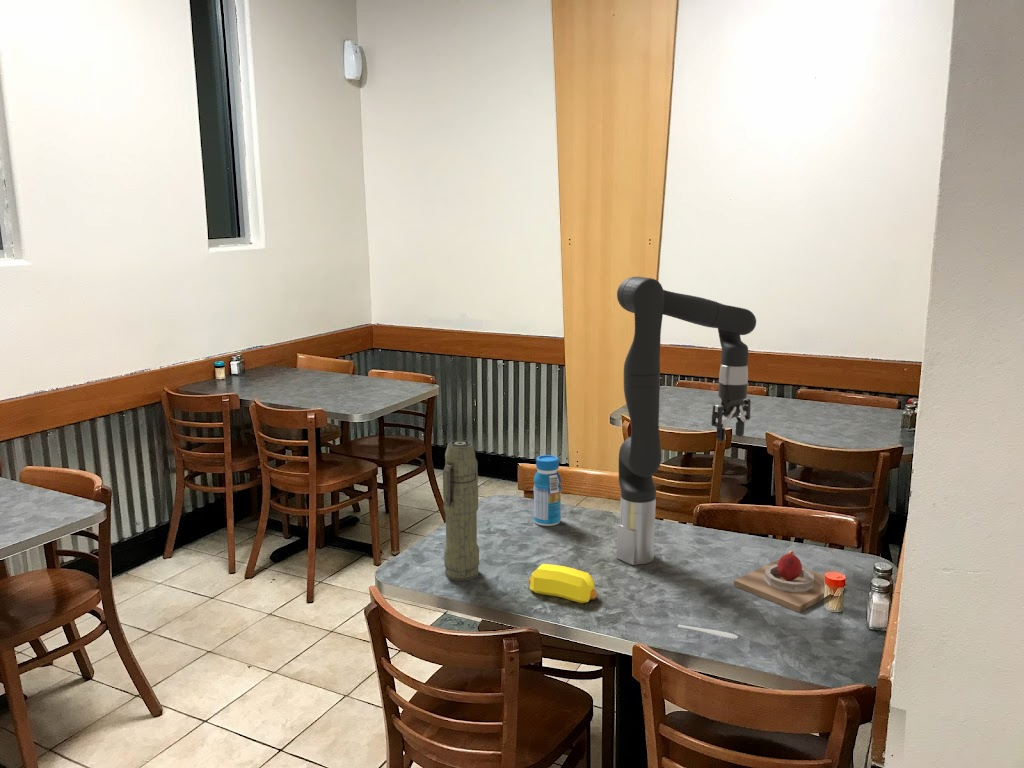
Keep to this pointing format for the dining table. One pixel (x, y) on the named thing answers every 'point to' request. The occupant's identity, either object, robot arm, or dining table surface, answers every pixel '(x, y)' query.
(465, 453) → the thermos
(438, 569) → the dining table surface
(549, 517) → the beverage bottle
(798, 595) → the mount board
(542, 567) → the low-poly banana
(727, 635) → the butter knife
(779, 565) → the onion
